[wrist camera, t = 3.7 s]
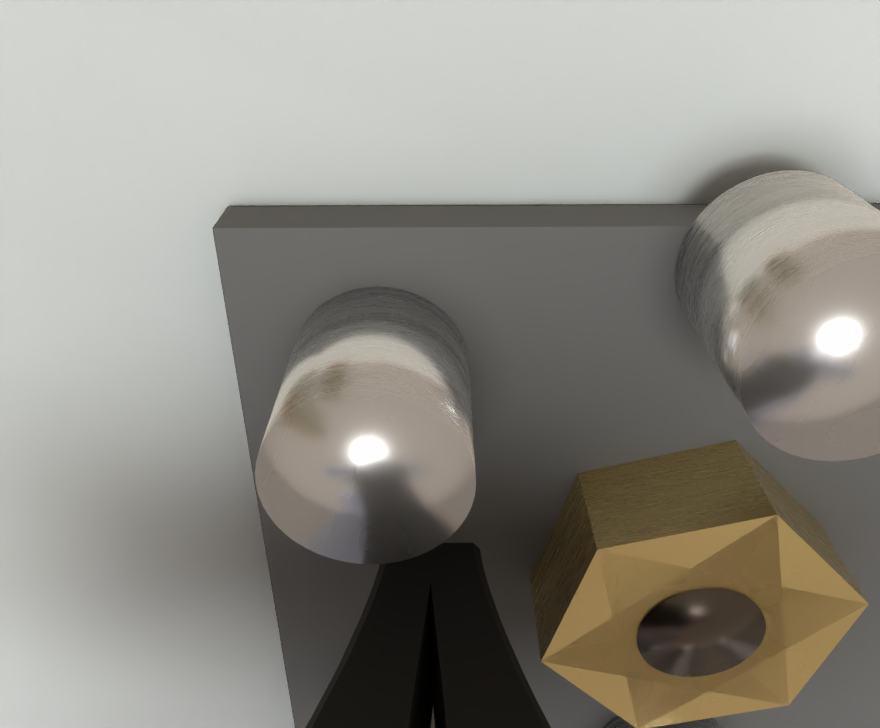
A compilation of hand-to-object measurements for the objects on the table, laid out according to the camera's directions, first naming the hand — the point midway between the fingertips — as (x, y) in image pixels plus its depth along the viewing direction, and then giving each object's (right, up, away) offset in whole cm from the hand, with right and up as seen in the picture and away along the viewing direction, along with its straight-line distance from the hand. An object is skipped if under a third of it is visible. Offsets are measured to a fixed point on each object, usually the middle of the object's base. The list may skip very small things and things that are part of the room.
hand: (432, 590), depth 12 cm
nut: (+4, 0, +1) cm, 4 cm away
